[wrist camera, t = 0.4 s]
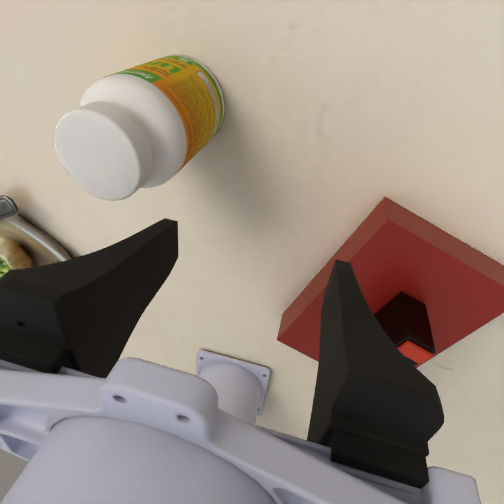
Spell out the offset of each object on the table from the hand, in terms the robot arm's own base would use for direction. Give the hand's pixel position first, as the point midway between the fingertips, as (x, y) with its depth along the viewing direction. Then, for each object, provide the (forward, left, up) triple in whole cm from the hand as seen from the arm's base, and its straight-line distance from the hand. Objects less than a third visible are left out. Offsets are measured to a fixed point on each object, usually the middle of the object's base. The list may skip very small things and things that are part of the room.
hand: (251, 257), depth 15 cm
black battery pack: (-9, -9, -7) cm, 14 cm away
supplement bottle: (+3, +7, -10) cm, 13 cm away
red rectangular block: (-9, -9, -10) cm, 16 cm away
